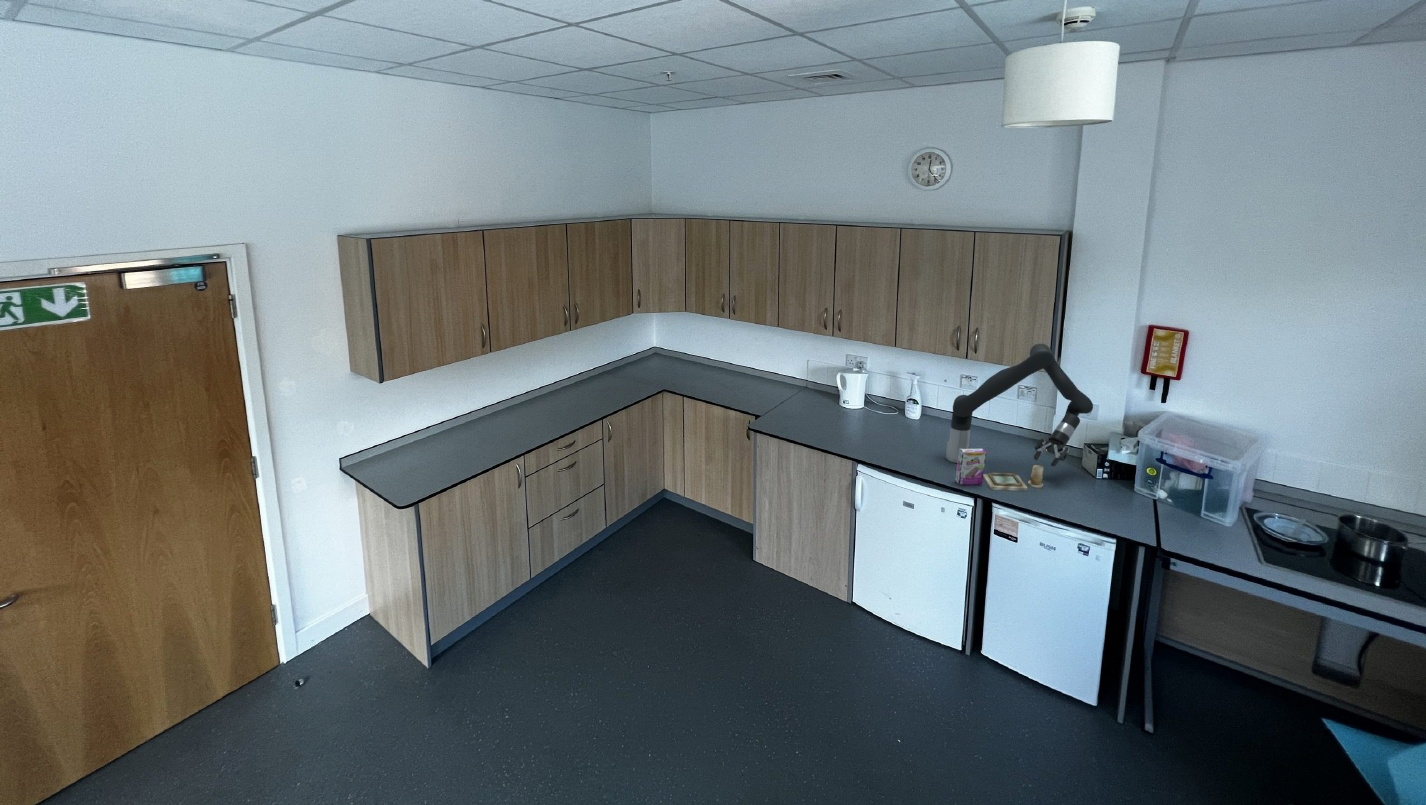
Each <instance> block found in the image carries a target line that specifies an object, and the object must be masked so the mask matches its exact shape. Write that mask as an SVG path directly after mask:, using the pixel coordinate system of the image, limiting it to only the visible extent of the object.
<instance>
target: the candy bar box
mask: <svg viewBox="0 0 1426 805" xmlns="http://www.w3.org/2000/svg"><path fill="white" fill-rule="evenodd" d="M986 458H987V451H986V450H984V449H983V448H968V449H959V455H958V463H956V464H957V465H956V472H955V480H954V481H955V483H957V485H961V486H962V485H963V486H967V485H971V486H973V485H974V486H975V485H983V480H984V478H983V474H984V472H985V465H986Z"/></svg>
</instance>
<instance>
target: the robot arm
mask: <svg viewBox="0 0 1426 805" xmlns="http://www.w3.org/2000/svg"><path fill="white" fill-rule="evenodd" d="M1041 370H1044V371H1045V373H1046V374H1047V375H1048V377H1049V379H1050V380H1051V382H1052V383H1053V385H1054V387H1055V388H1056V389H1057V391H1058V392H1059V393H1060V394H1061V396H1062V397H1063V398H1064V399H1065V400H1067V401H1070V402H1068V404H1067V407H1066V411H1065V414H1064V416H1063V418H1062V419H1061V421H1060V422H1059V423H1058V424H1057V426H1056V427H1055V428H1054V430H1053V432H1052V433H1051V435H1050V436H1049V438H1048V439H1047V440H1044V438H1041V439H1040V440H1039V441H1038V443H1037V444H1036V445H1035V446H1034V450H1035V451H1036V452H1035V453H1034V455H1033V459H1034V460H1035V461H1038V460H1039V458H1040V457H1041V455H1042V454H1043V453H1047V452H1048V453H1051V454H1053V455H1055V457H1054V458H1053V460H1052V462H1051V463H1050V466H1051V467H1053V468H1054V467H1055V466H1056V465H1058V462H1060V461H1062V462H1064V461H1066V459H1067V457H1068V455H1069V453H1070V451H1071V450H1070V449H1069V447H1066V446H1067V444H1068V442H1069V441H1070V440H1071V438H1072V437H1073V434H1074V433H1075V431H1076V430H1077V427H1078V426H1079V425H1080V422H1081V419H1080V417H1079V415H1080V414H1084V415H1085V414H1087V415H1088V414H1090V413H1091V412H1092V411H1093V409H1094V404H1093V402H1092V400H1091V399H1090V397H1088V396H1087V394H1085V393H1083V391H1081V390H1079V388H1078V387H1077V386H1076V384H1075V383H1074V382H1073V381H1072V380H1071V378H1070V377H1069V375H1067V374H1066V372H1065V371H1064V370H1063V368H1062V367H1061V366H1060V364H1059V363H1058V361H1057V360H1056V358H1055V357H1054V354H1053V351H1052V349H1051V347H1049V346H1048V345H1047V344H1046V343H1037V344H1034V345H1033V346H1032V347H1031V348H1030V351H1029V357H1027V358H1026V359H1024V360H1023V361H1021V362H1020V363H1018V364H1016V365H1012V366H1010V367H1007V368H1003V369H1001V370H1000V371H997V372H996V373H994V374H993V375H991V376H990V377H989V378H988V379H986V380H985V381H984V382H983V383H982V384H981V385H980V386H979V387H978V388H977V389H975V391H973V392H972V393H970V394H968V395H966V394H960V395H958V396H956V398H954V401H953V404H952V415H951V424H950V430H949V432H950V433H949V439H948V440H947V442H946V450H945V451H946V452H945V453H946V454H945V459H947V460H948V461H949V462H951V463H953V464H954V463H955V464H957V463H958V455H959V449H969V445H970V437H971V436H970V435H971V428H972V420H973V412H975V411H976V410H977V409H979V408H980V407H981V406H982V405H984V404H986V403H987V402H989V401H991V400H992V399H995V398H996V397H999V396H1000V395H1001V394H1004V392H1006V391H1008V390H1009V389H1011V388H1012V387H1015V385H1017V384H1018V383H1019V384H1020V382H1022V381H1023V380H1025V379H1027V378H1028V377H1030V376H1031V375H1033V374H1034V373H1037V372H1039V371H1041ZM1060 452H1062V453H1060Z"/></svg>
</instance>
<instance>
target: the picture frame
mask: <svg viewBox="0 0 1426 805" xmlns="http://www.w3.org/2000/svg"><path fill="white" fill-rule="evenodd" d="M983 480H984V482H985V484H986V485H987V486H988V488H989V489H990V490H991V491H1017V492H1019V491H1020V492H1028V487H1027V485H1026V484H1025V482H1024V481H1023V480H1022V479H1021V477H1020V476H1019V474H1015V473H1008V472H988V473H983Z"/></svg>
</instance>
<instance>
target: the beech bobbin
mask: <svg viewBox="0 0 1426 805" xmlns="http://www.w3.org/2000/svg"><path fill="white" fill-rule="evenodd" d="M1043 474H1044V466H1042V465H1039V464H1038V465H1037V464H1034V465H1033V466H1032V470H1031V474H1030V479H1029V480H1028V482H1027V485H1028V486H1029V487H1031V488H1036V489H1042V488H1043V487H1044V483H1043V477H1044V476H1043Z"/></svg>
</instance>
